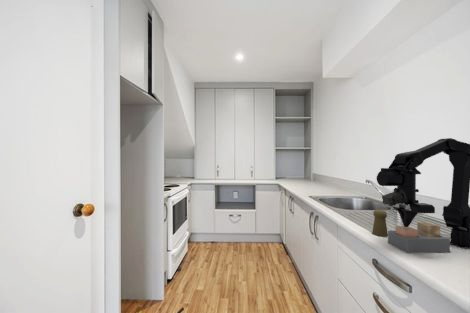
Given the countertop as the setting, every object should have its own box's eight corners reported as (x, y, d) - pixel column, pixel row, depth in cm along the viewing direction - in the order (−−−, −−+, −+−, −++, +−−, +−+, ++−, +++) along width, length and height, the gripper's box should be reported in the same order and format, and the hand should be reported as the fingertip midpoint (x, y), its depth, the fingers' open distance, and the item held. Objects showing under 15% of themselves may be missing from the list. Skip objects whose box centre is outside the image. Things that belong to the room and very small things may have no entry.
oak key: (428, 236, 92) (429, 222, 92) (440, 241, 87) (440, 225, 87) (417, 236, 92) (417, 222, 92) (428, 241, 87) (428, 225, 87)
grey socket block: (425, 242, 95) (425, 230, 95) (449, 252, 85) (449, 238, 85) (388, 243, 94) (388, 230, 94) (407, 253, 84) (407, 239, 84)
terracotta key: (407, 240, 92) (407, 226, 92) (417, 245, 87) (417, 229, 87) (395, 240, 91) (395, 226, 91) (405, 245, 87) (405, 229, 87)
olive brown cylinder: (380, 237, 101) (380, 211, 101) (368, 233, 107) (369, 208, 107) (391, 236, 102) (391, 211, 103) (379, 232, 108) (379, 208, 108)
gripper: (370, 183, 98) (370, 220, 98) (405, 189, 79) (405, 235, 79) (395, 183, 99) (395, 220, 99) (436, 189, 80) (436, 234, 80)
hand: (406, 226), depth 89 cm, fingers closed
